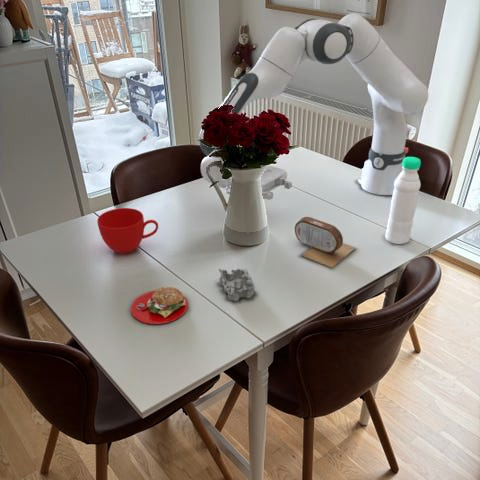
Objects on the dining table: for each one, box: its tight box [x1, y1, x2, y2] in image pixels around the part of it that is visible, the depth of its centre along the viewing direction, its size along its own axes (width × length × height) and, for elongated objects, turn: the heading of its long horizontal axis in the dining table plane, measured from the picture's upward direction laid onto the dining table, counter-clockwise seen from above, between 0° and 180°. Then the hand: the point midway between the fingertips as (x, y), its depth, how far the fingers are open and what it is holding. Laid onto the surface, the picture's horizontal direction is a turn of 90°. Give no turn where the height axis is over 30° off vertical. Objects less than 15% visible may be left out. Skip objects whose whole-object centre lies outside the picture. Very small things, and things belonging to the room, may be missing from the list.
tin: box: [294, 216, 344, 253], centre depth 144 cm, size 15×3×8 cm, turn 50°
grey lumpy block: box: [218, 268, 256, 302], centre depth 129 cm, size 11×8×4 cm
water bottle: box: [384, 156, 422, 245], centre depth 144 cm, size 7×7×25 cm
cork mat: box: [301, 243, 356, 269], centre depth 145 cm, size 13×10×1 cm
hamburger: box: [130, 286, 189, 325], centre depth 123 cm, size 14×14×6 cm
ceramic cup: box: [96, 207, 159, 255], centre depth 146 cm, size 13×17×10 cm
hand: (281, 191), depth 146 cm, fingers open, 8 cm apart
